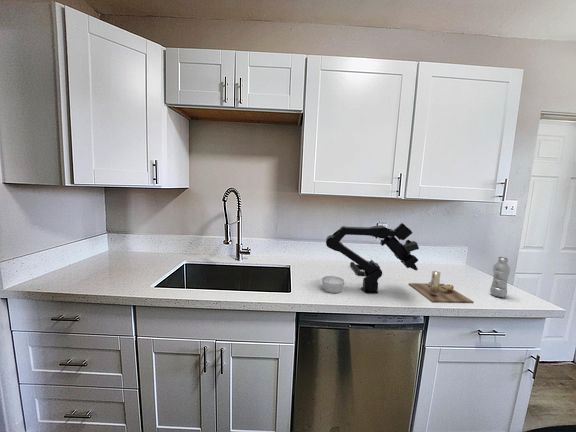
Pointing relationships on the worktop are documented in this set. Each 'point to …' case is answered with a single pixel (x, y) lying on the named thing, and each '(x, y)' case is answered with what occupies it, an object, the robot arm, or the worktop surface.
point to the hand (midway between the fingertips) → (416, 269)
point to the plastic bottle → (500, 278)
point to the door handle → (357, 269)
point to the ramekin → (332, 284)
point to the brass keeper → (448, 288)
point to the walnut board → (440, 294)
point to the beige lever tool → (434, 282)
